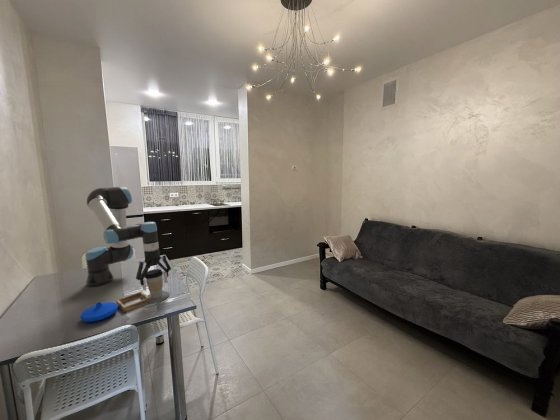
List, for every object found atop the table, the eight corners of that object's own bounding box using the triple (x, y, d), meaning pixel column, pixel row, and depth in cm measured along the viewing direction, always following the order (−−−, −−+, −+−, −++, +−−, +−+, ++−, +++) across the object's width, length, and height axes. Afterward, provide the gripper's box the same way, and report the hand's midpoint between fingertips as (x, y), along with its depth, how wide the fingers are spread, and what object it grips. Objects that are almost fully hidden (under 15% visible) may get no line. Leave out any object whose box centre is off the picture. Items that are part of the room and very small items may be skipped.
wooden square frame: (116, 304, 138) (116, 300, 137) (141, 295, 147) (141, 291, 147) (124, 312, 129) (124, 307, 129) (150, 302, 139) (150, 298, 138)
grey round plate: (140, 298, 143) (140, 297, 143) (163, 290, 153) (163, 289, 153) (149, 306, 135) (149, 304, 135) (173, 296, 144) (173, 295, 144)
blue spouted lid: (99, 307, 135) (97, 295, 134) (125, 308, 134) (124, 296, 132) (72, 325, 120) (69, 311, 119) (102, 326, 118) (99, 312, 117)
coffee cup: (158, 301, 138) (155, 275, 136) (143, 300, 140) (140, 274, 138) (169, 292, 147) (166, 268, 145) (155, 292, 149) (152, 268, 147)
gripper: (130, 256, 128) (135, 296, 132) (175, 245, 146) (178, 280, 149) (125, 253, 133) (130, 292, 136) (169, 243, 151) (172, 277, 154)
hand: (155, 286), depth 143 cm, fingers open, 11 cm apart
